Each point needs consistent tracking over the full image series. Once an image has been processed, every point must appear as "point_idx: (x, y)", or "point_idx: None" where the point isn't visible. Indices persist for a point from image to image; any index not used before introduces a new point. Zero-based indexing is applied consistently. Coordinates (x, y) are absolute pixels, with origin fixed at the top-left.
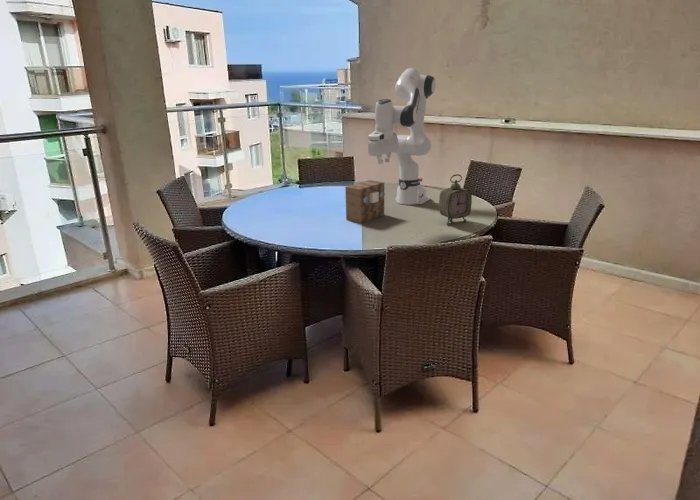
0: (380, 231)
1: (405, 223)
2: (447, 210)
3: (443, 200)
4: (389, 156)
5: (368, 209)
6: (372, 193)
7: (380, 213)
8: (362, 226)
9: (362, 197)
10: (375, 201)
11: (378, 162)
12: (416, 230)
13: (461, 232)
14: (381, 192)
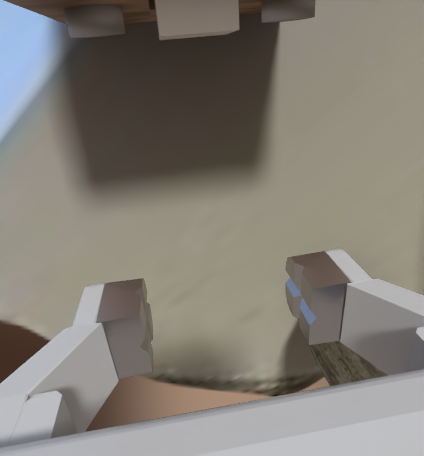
0: (75, 195)
1: (231, 192)
2: (313, 348)
3: (342, 352)
4: (383, 368)
5: (142, 15)
6: (165, 28)
7: (251, 12)
8: (51, 78)
9: (59, 8)
10: (190, 37)
11: (83, 298)
12: (190, 273)
13: (267, 359)
14: (282, 17)
